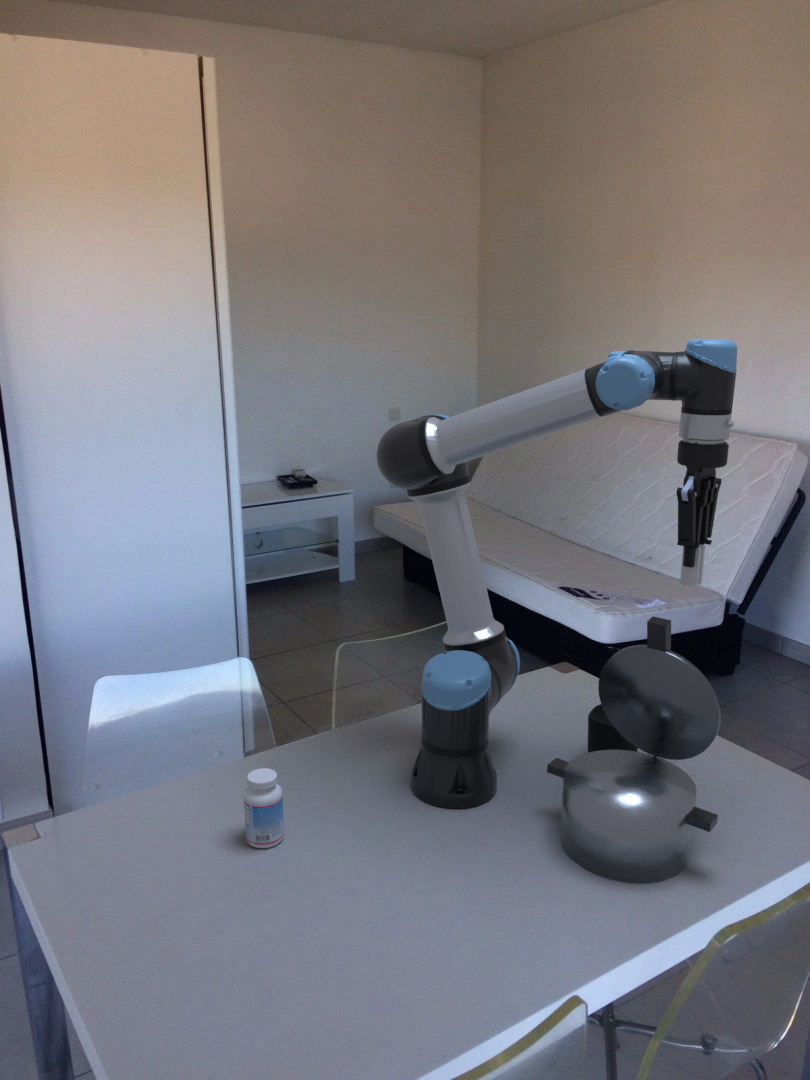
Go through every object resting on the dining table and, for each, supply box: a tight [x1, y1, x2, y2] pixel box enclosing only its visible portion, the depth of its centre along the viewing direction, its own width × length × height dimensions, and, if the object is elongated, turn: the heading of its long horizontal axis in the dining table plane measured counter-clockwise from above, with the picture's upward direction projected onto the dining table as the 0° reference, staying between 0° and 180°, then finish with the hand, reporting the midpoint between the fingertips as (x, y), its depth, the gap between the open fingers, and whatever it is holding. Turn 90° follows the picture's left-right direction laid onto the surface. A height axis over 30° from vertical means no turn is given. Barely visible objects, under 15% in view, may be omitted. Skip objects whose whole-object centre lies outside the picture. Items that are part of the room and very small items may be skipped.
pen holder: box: [587, 703, 639, 753], centre depth 162 cm, size 9×9×10 cm
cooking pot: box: [546, 750, 719, 884], centre depth 138 cm, size 27×20×11 cm
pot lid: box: [597, 615, 722, 761], centre depth 140 cm, size 20×24×3 cm
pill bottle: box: [243, 767, 285, 849], centre depth 139 cm, size 6×6×11 cm
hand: (690, 583), depth 144 cm, fingers closed
